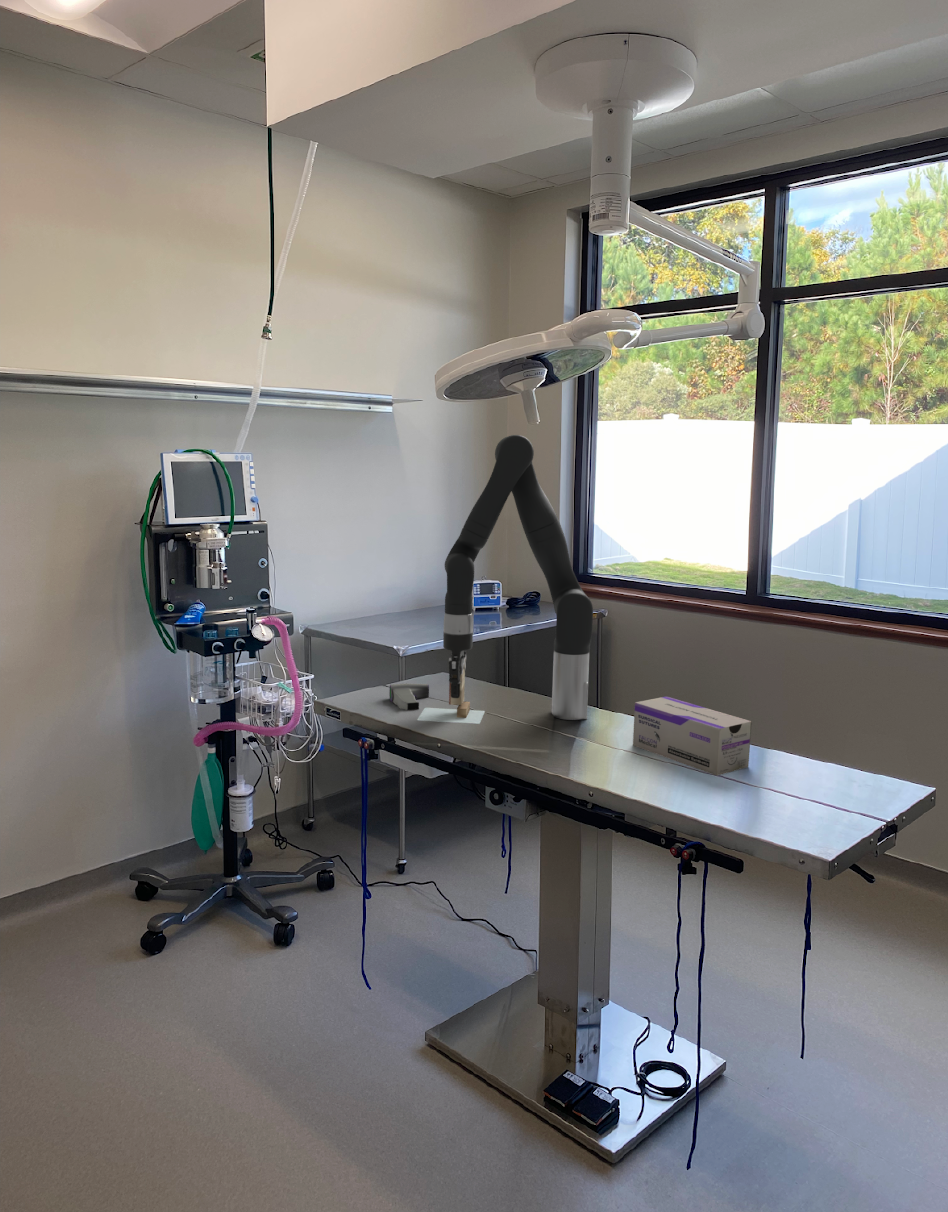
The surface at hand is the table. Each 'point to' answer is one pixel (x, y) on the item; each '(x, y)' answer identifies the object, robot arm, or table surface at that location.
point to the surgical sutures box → (692, 735)
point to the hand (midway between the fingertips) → (457, 694)
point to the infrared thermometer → (408, 695)
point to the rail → (463, 710)
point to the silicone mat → (450, 716)
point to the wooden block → (462, 686)
